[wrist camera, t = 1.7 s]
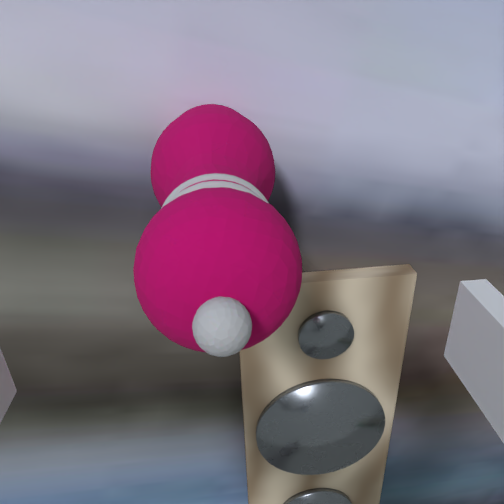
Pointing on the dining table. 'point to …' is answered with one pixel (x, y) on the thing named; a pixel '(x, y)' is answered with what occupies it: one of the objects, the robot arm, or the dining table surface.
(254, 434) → the tan flat board
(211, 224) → the pepper mill
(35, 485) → the dining table surface
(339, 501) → the flange
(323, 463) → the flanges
